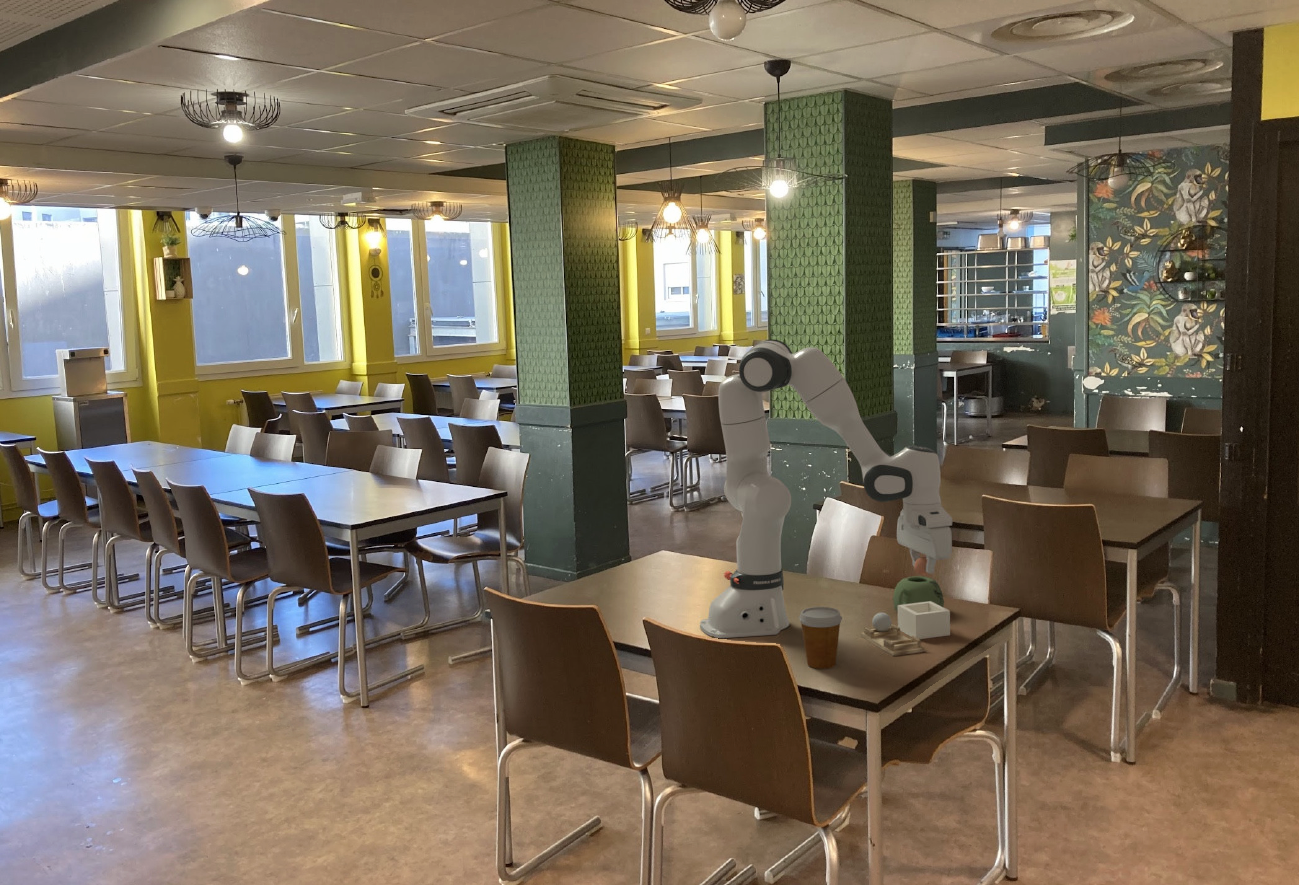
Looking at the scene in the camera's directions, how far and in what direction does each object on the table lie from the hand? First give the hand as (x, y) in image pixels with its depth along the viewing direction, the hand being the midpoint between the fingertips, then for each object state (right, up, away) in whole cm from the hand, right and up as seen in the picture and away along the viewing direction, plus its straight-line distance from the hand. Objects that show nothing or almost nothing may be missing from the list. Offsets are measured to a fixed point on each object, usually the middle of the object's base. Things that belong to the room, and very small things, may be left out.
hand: (923, 569), depth 255 cm
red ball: (0, +1, 0) cm, 1 cm away
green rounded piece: (+3, -14, +18) cm, 23 cm away
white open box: (+1, -15, +2) cm, 15 cm away
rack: (-9, -17, -6) cm, 20 cm away
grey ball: (-10, -12, -1) cm, 16 cm away
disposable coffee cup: (-27, -19, -17) cm, 38 cm away
